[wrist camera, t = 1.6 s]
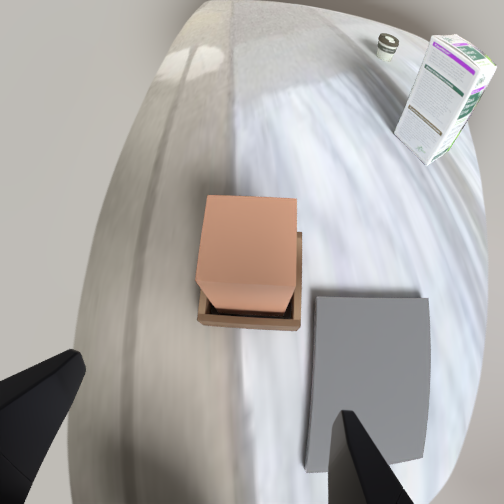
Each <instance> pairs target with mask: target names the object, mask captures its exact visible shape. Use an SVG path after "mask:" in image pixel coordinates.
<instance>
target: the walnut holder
mask: <svg viewBox="0 0 504 504" xmlns="http://www.w3.org/2000/svg"><path fill="white" fill-rule="evenodd" d="M301 291H302V232H297V257H296V287H295V290H294V292H293V294H292V297H291V316H290V319H271V318H253V317H237V316H223V315H211V310H212V303H211V302H210V300H209V299H208V298H207V296H206V295H205V293H204V292H203V291H202V289H201V290H200V299H199V308H198V317H197V321H199V322H200V323H201V324H203V325H207V326H219V327H231V328H246V329H262V330H282V331H297V330H298V329H299V328H300V326H301Z"/></svg>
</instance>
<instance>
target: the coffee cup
mask: <svg viewBox="0 0 504 504" xmlns="http://www.w3.org/2000/svg"><path fill="white" fill-rule="evenodd" d="M378 39H379V41H378V51H377V57H378V58H379V59H381V60H383V61H387V62H389V61H391V59H392V57H393V55H394V53H395V51H396V49H397V47H398V45H399V40H398V39H397V38H395V37H394V36H392V35H389V34H385V33H382V34H380V36H379V38H378Z"/></svg>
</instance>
